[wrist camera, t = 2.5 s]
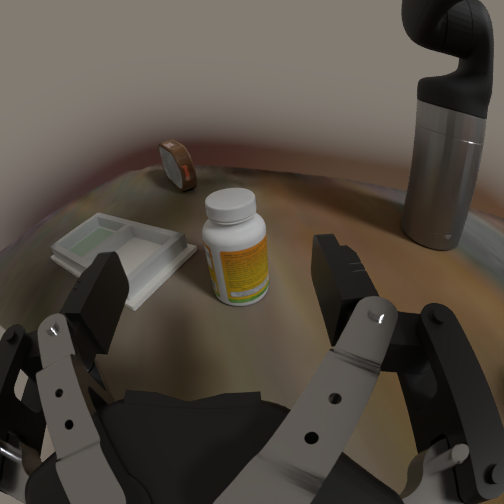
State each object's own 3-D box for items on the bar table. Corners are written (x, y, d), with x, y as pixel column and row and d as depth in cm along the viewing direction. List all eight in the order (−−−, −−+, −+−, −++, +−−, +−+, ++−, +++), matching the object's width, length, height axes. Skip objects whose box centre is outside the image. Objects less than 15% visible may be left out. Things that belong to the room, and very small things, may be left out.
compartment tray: (101, 222, 42) (97, 210, 40) (197, 250, 33) (193, 233, 32) (51, 260, 34) (45, 247, 33) (134, 311, 26) (126, 294, 24)
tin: (200, 193, 47) (193, 146, 42) (183, 199, 46) (174, 151, 41) (176, 172, 58) (169, 136, 53) (162, 176, 56) (154, 139, 52)
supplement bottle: (279, 280, 28) (276, 190, 22) (249, 316, 24) (237, 219, 19) (235, 264, 31) (224, 180, 25) (203, 295, 27) (181, 205, 21)
